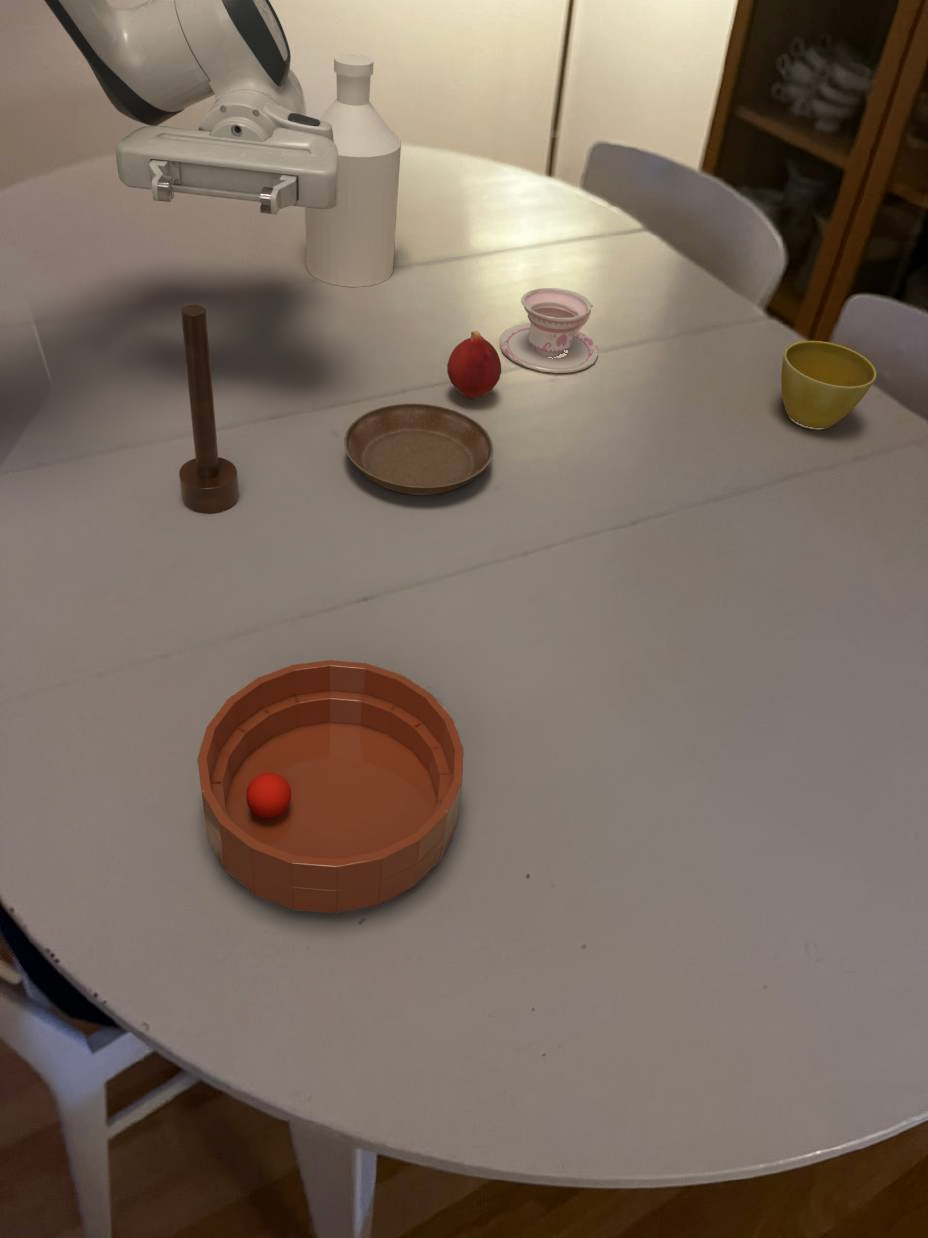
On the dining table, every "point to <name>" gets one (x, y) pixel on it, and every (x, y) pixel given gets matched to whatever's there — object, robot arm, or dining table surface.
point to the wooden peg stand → (203, 425)
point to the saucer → (418, 448)
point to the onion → (474, 366)
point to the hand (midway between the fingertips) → (214, 198)
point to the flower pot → (823, 382)
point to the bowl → (332, 785)
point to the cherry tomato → (268, 795)
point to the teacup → (551, 332)
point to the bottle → (357, 187)
